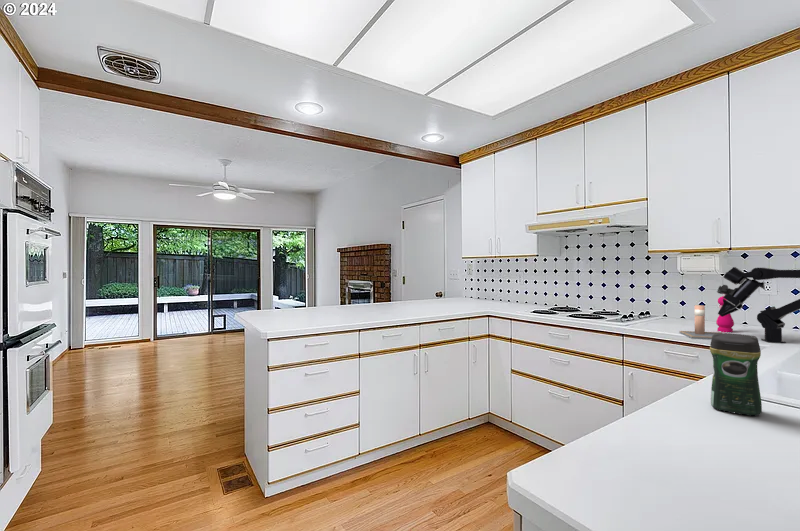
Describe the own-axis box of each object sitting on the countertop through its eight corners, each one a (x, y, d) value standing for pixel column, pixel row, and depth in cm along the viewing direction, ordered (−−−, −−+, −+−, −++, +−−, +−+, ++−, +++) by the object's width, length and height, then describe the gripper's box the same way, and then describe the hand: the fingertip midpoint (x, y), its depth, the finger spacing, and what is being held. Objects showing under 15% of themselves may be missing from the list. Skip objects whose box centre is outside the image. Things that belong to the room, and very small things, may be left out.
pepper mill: (727, 330, 213) (727, 292, 213) (737, 332, 205) (737, 293, 205) (713, 330, 213) (712, 292, 213) (722, 332, 206) (722, 293, 206)
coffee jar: (761, 410, 98) (760, 333, 98) (762, 419, 92) (762, 338, 92) (710, 401, 104) (710, 329, 104) (709, 410, 98) (708, 333, 98)
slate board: (737, 340, 185) (737, 338, 185) (691, 338, 190) (691, 336, 190) (721, 334, 200) (721, 332, 200) (679, 333, 206) (679, 330, 206)
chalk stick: (706, 334, 196) (706, 305, 196) (696, 334, 197) (696, 305, 197) (702, 333, 200) (702, 305, 200) (693, 332, 201) (693, 304, 201)
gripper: (729, 282, 202) (706, 306, 207) (725, 277, 189) (700, 302, 193) (753, 296, 195) (728, 321, 200) (750, 291, 182) (724, 317, 186)
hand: (719, 315), depth 195 cm, fingers open, 9 cm apart
